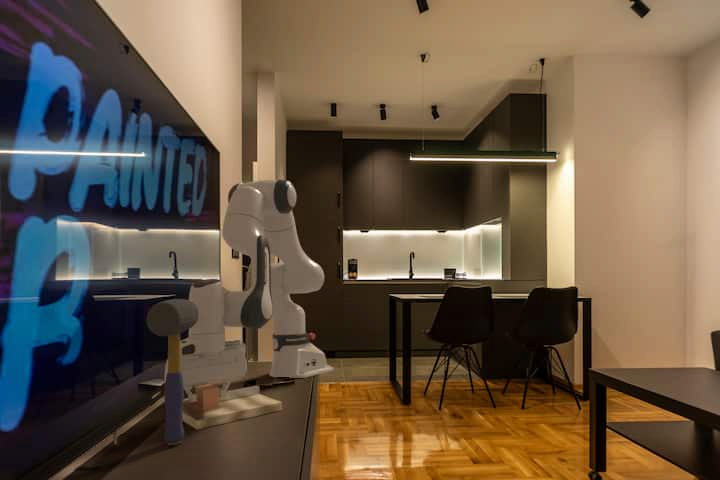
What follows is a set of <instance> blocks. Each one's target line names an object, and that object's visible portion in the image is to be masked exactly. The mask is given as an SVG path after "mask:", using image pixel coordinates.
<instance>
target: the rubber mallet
mask: <svg viewBox="0 0 720 480" xmlns="http://www.w3.org/2000/svg"><path fill="white" fill-rule="evenodd" d="M198 316H199V313H198V309H197V307H196V305H195V304H194V303H193V302H191V301H189V299H183V298H173V299H172V298H171V299H167V300H164V301H160V302H158V303H156V304H154V305H152V307H151V308H149V310H148V312H147V315H146V325H147V327H148V329H149V331H150V332H151V333H153V334H154V335H156V336H158V337H167V345H168V346H167V359H168V373H167V375H166V381H165V380H164V404H165V405H164V406H165V429H164V434H163V439H164V441H165V443H166V444H167V445H168V446H177V445H179V444H181V443H182V442H183V439H184V437H185V429H184V425H183V420H182V407H183V399H185V397H184V396H185V393H184V392H185V390H184V386H183V378H182V373H181V344H180V341H181V334H182V333H184V332H187V330H188V331H189V329H190V328H191V327H193V326H194V325H195V324H196V322H197V320H198Z"/></svg>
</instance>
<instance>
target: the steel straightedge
mask: <svg viewBox="0 0 720 480" xmlns="http://www.w3.org/2000/svg"><path fill="white" fill-rule="evenodd" d="M256 394H260V386H259V385H253V386H246V387H242V388H236V389H232V390H227V396H226V397H219V402H221V401H226V400H231V399H236V398H241V397H246V396H251V395H256ZM184 400H186V401H187V402H188V397H187V398H183V401H184ZM191 404H193V405H195V406H196V402H195V403H191Z"/></svg>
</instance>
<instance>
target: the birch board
mask: <svg viewBox="0 0 720 480" xmlns="http://www.w3.org/2000/svg"><path fill="white" fill-rule="evenodd" d="M280 411H283V402H282V401H280V400H278V399H274V398H271V397H269V396H266V395H263V394H262V393H259V394H256V395H251V396H246V397H241V398H236V399H231V400H226V401H221V402H219V408H215V409H210V410H205V411H204V410H203V409H201V408H199V407H197V406H195V405H193V404H191V403H189V402H187V401H186V400H184V401H183V407H182V422H184V423H186V424H187V425H188V426H190V427H192V428H194V429H195V430H201V429H205V428H211V427H213V426H214V427H215V426H219V425H224V424H228V423H233V422H236V421H241V420H245V419H249V418H254V417H259V416H262V415H268V414H271V413H275V412H280Z"/></svg>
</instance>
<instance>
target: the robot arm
mask: <svg viewBox="0 0 720 480" xmlns="http://www.w3.org/2000/svg"><path fill="white" fill-rule="evenodd" d="M227 194H228V195H227V202H228V205H227V207H226V211H225V215H224V219H223V222H222V223H223V224H222V230H221V231H222V233H221V234H222V239H223V240H224V243H226V245H227V246H229V247H230V249H232V250H234V251H236V252H238V253H240V254H242V255H246V256H247V257H249V258H250V260H251V286H250V287H249V289H248V290H230V289H227V288H225V287H224V285H223V282H222V280H221V279H217V278H209V279H208V278H207V279H201V280H197V281H196V282H194V283H192V284H191V287H190V289H189V290H190V291H189V295H188V300H189V301H191V302H193V303H194V304H195V305H196V307H197V309H198V313H199V316H198V320H197V322H196V324H195V325H194V326H193V327H191V328H190V329H188V337H187V338H184V339H182V340H180V344H181V373H182V378H183V387H184V392H185V393H186V395H187V396H188V397H187V398H188V402H189V403H195V402H197V400H196V398H197V395H196V393H192V391H191V390H193V385H198V384H204V383H209V382H210V383H211V382H215V381H220V380H221V381H222V383H223V384H222V386H221V388H219V397H226V396H227V391H228V389H229V387H230V385H231V382H232V378H237V377H238V378H239V377H244V376H245V375H246V374H247V372H248V367H247V366H248V365H247V358H246V351H247V350H246V349H247V348H246V347H247V346H246V343H244V342H243V341H242V340H240V339H236V340H228V341H226V328H227V327H228V328H247V329H255V330H258V329H262V328H263V327H264V326H265V325H266V324H267V323H268V322H269V321H270V320H271V318H272V321H273V333H272V351H273V352H272V354H273V355H272V362H271V368H270V371H269V376H270V377H272V378H277V377H289V378H288V379H292V378H293V379H298V378H299V379H306V378H309V377H313V376H317V375H321V374H325V373H329V372H333V371H334V367H332V366H331V365H329V364H327V357H326V353H324V351H322V350H321V349H320V348H318V347H316V346H315V345H314V344H313V343H311V340H314V339H316V335H315V333H312V332H310V333H308V332H306V313H305V311H304V310H305V309H303V307H302V306H300V305H299V304H296V303H294V302H293V300H291V299H292V298H291V297H290V295H291V294H309V293H313V292H317V291H319V290H320V289H322V286H324V282H325V273H324V270H323V268H322V267H321V265H320V264H319V263H317V262H315V260H312V259H311V258H310V257H309V256H308V255H307V254H306V252H305V251H304V250H303V248H302V246H301V244H300V239H299V237H298V233H297V227H296V220H295V217H294V212H293V209H294V208H295V207H296V205H297V197H298V196H297V190H296V187H295V186H294V184H293V183H292V182H291V181H290V180H287V179H278V180H275V179H274V180H273V179H262V180H261V179H260V180H255V181H249V182H240V183H236V184H234V185H233V186H232V187H231V188H230V190H229V191H228V193H227ZM271 255H272V256H274V257H277V259H279V260H281V261H282V262H272V261H271ZM225 327H226V328H225ZM167 373H168V358H167V359H166V362H165V367H164V382H165V381H166V375H167Z"/></svg>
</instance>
